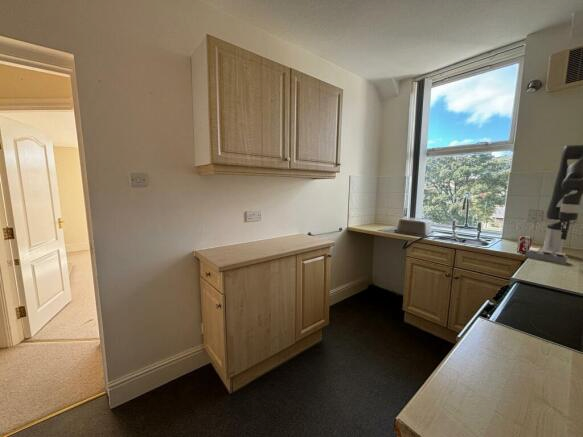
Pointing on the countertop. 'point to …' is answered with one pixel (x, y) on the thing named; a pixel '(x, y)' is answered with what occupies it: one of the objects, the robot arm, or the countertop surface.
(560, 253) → the rocker
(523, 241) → the soda can
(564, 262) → the power strip
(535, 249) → the rocker
